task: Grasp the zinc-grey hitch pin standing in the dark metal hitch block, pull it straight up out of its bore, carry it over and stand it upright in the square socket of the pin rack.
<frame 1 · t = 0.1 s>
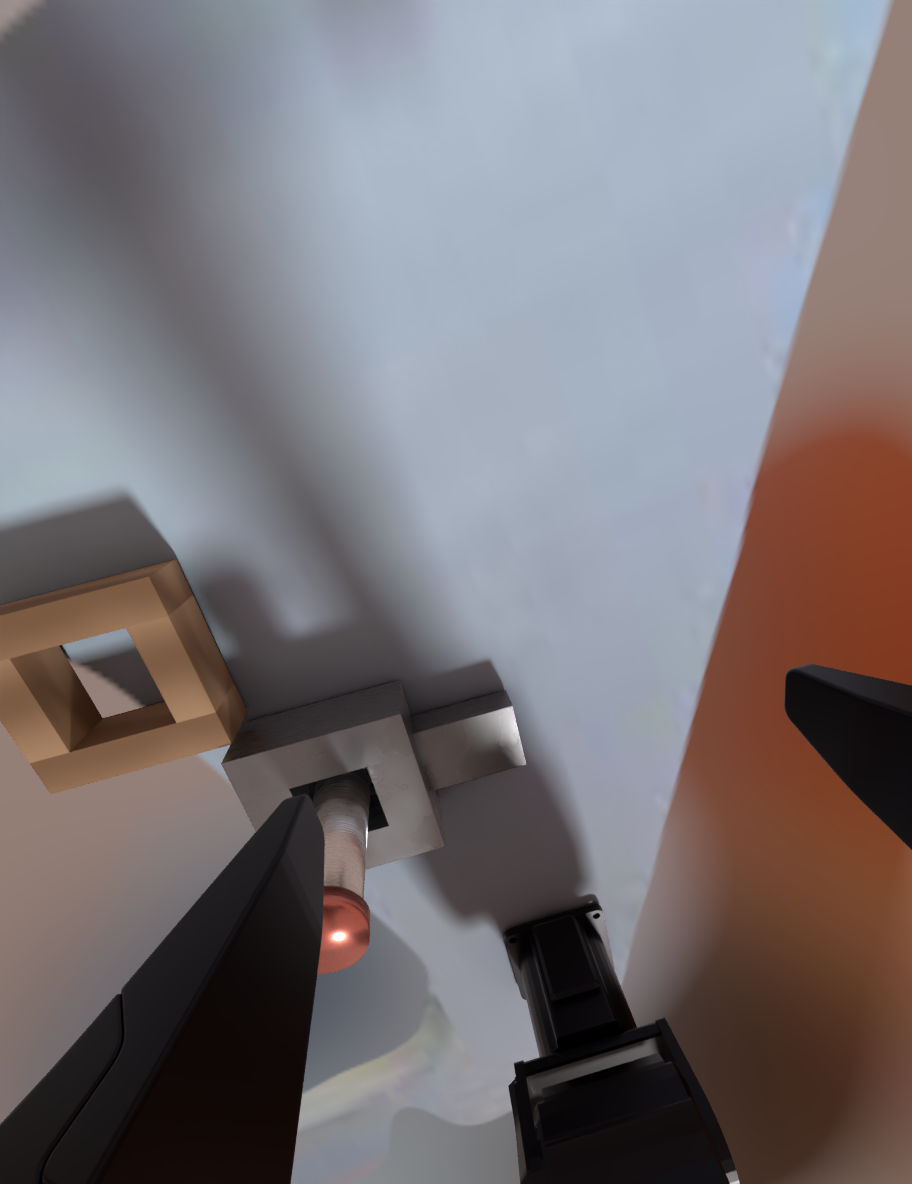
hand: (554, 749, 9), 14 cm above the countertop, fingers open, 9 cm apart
hitch pin: (336, 835, 21), in the hitch block
hitch block: (346, 765, 25), on the countertop
pin rack: (127, 663, 22), on the countertop
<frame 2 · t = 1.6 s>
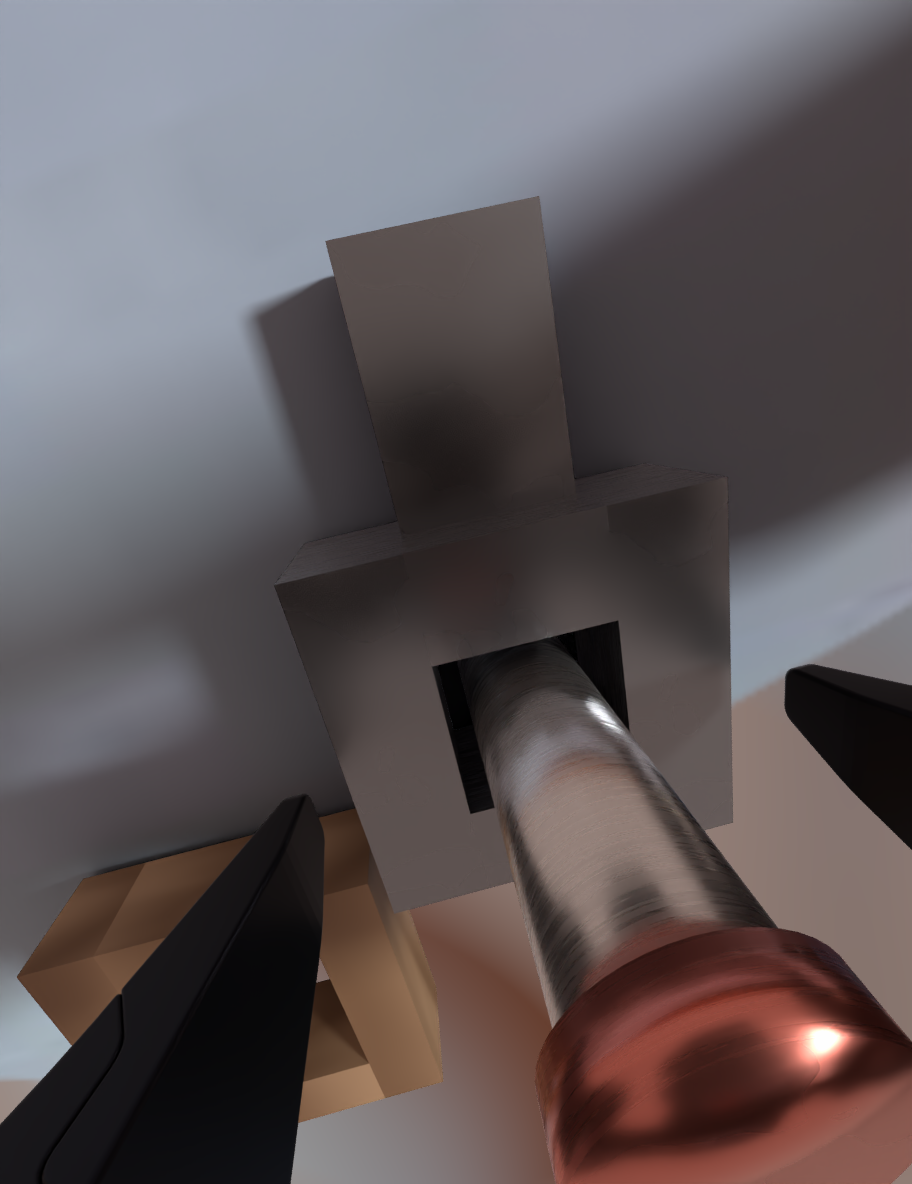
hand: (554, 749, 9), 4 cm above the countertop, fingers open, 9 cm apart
hitch pin: (566, 777, 8), in the hitch block
hitch block: (507, 655, 13), on the countertop
pin rack: (278, 938, 15), on the countertop
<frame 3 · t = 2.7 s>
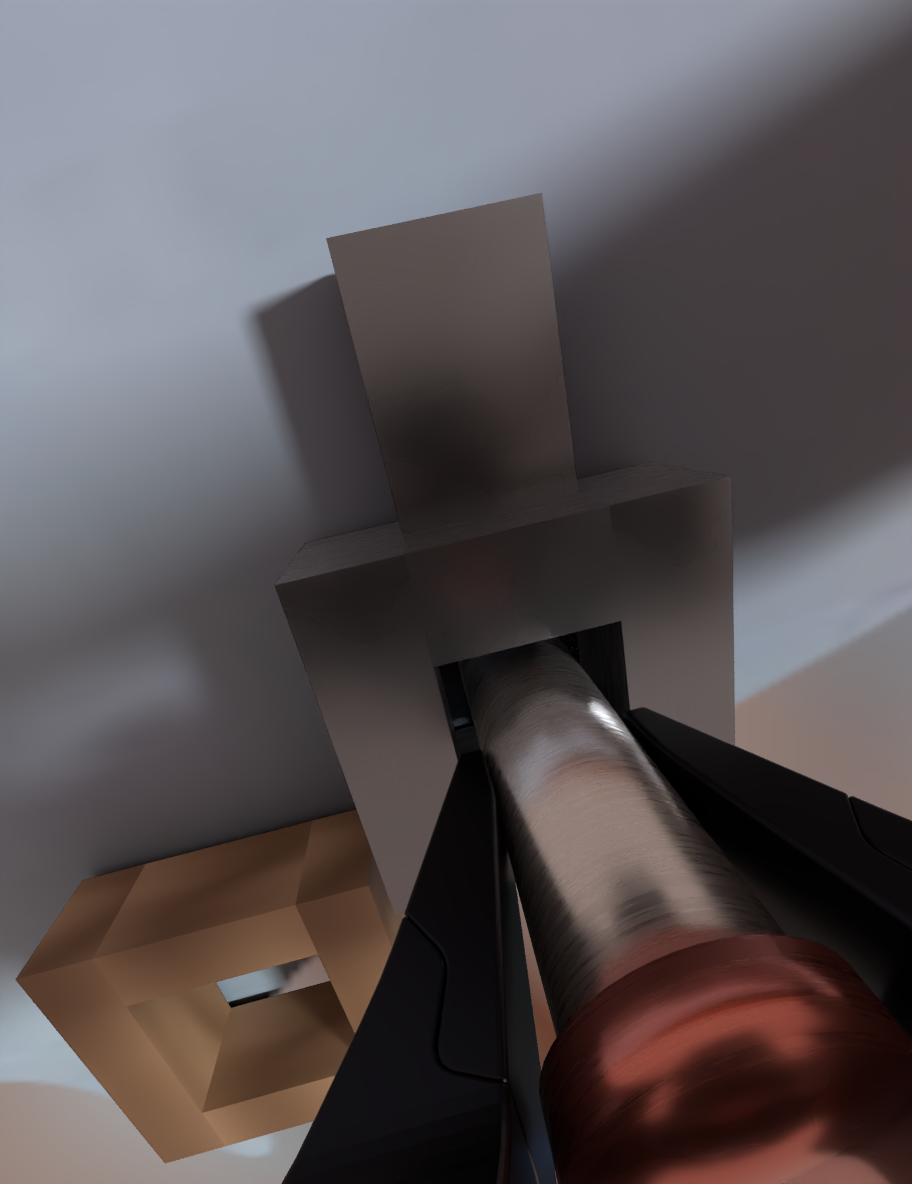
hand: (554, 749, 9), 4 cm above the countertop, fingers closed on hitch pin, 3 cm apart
hitch pin: (568, 779, 8), in the hitch block, touching gripper
hitch block: (508, 655, 12), on the countertop
pin rack: (278, 939, 15), on the countertop
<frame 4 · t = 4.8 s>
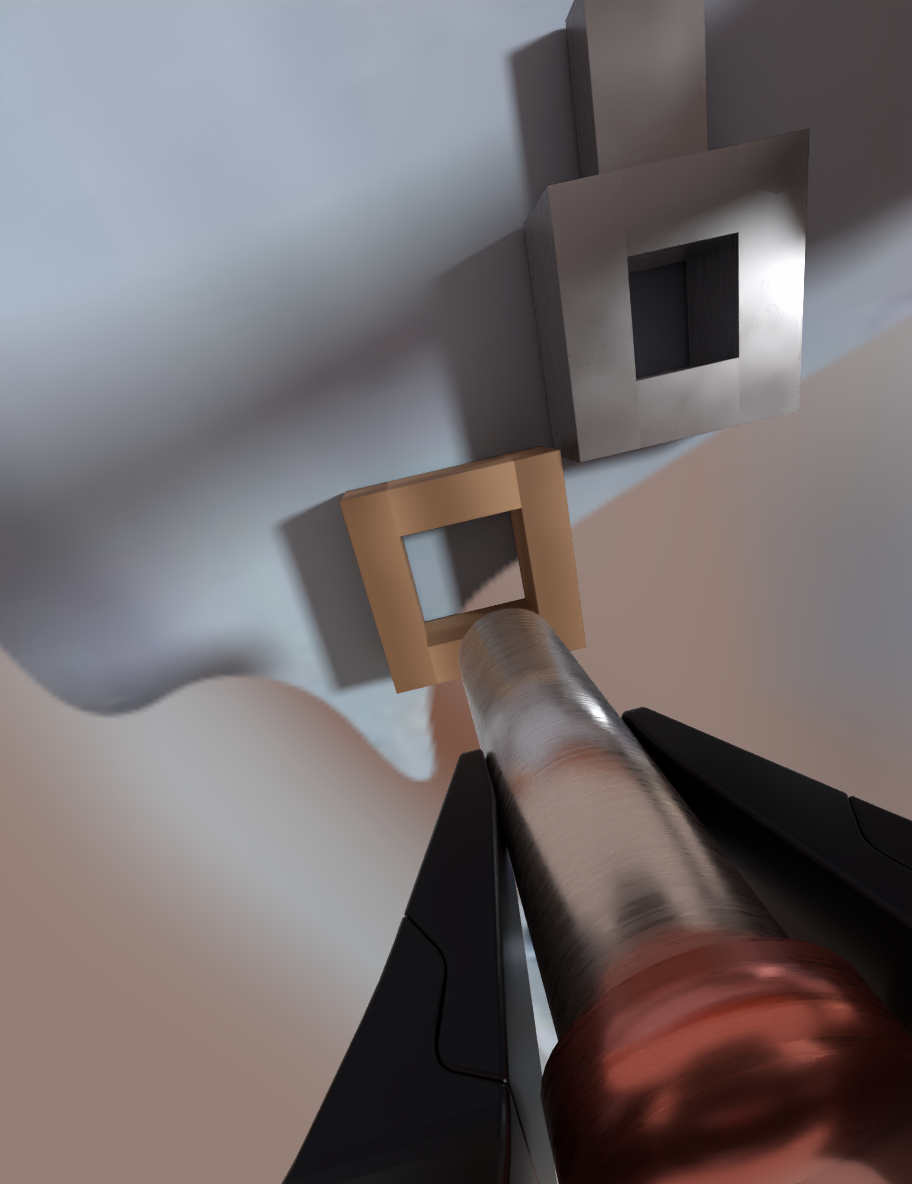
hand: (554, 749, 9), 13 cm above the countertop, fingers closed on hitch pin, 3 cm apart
hitch pin: (569, 780, 8), point 14 cm above the countertop, touching gripper
hitch block: (642, 325, 19), on the countertop
pin rack: (464, 562, 21), on the countertop
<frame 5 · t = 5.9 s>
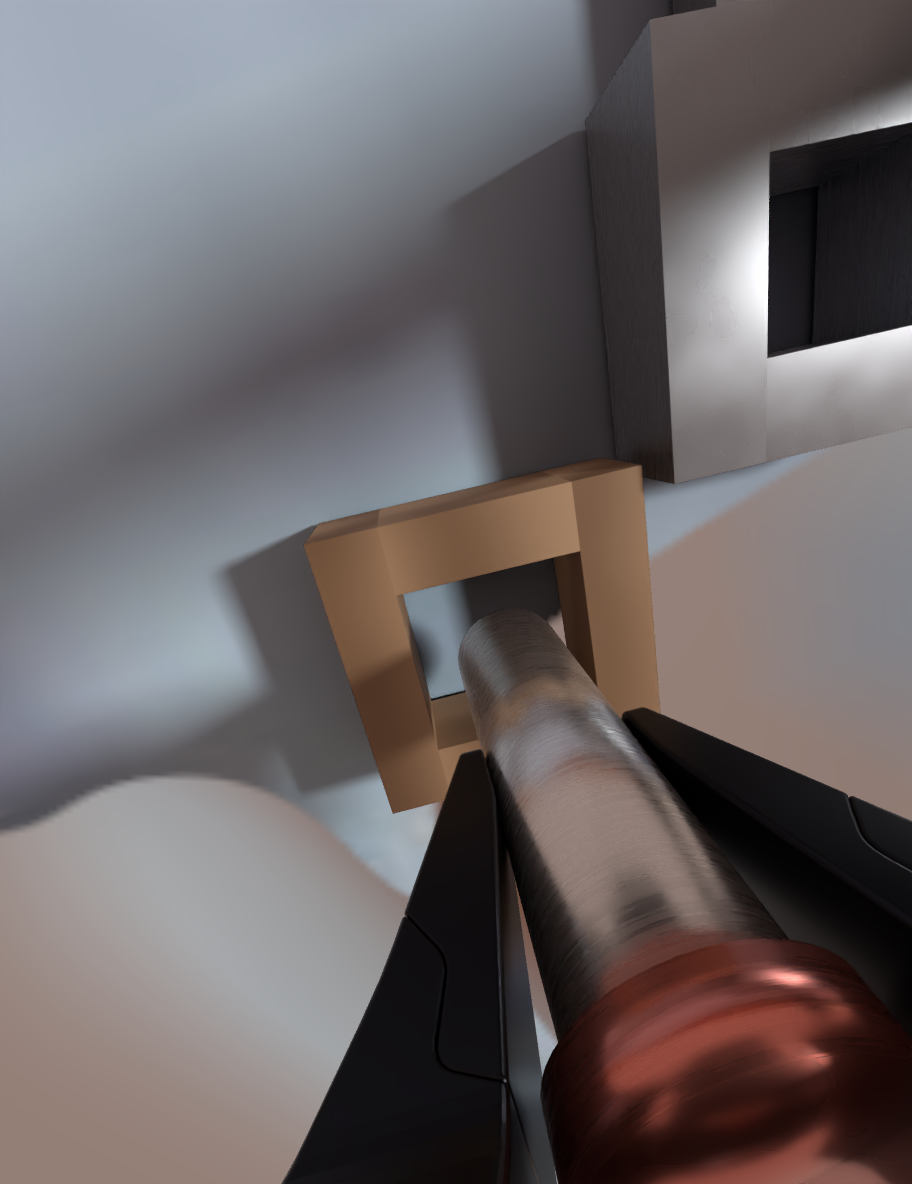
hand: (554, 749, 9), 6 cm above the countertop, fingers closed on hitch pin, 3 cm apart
hitch pin: (569, 780, 8), point 7 cm above the countertop, touching gripper
hitch block: (750, 282, 13), on the countertop
pin rack: (487, 619, 15), on the countertop
when the fingers open (5 cm above the countertop, at t = 6.7 s): hitch pin drops 1 cm, resting in pin rack.
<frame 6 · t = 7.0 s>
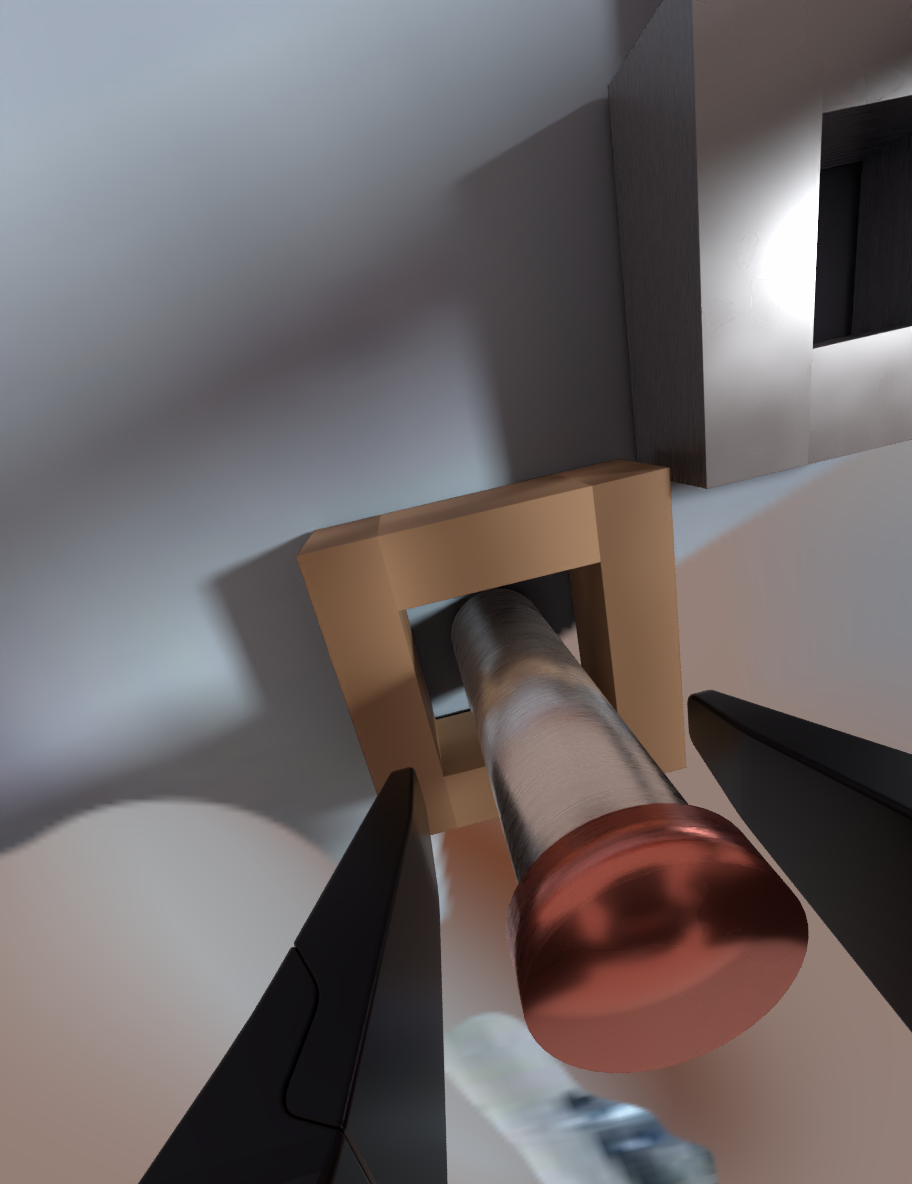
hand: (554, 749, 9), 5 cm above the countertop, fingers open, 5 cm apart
hitch pin: (543, 726, 10), in the pin rack
hitch block: (785, 268, 12), on the countertop
pin rack: (496, 633, 14), on the countertop
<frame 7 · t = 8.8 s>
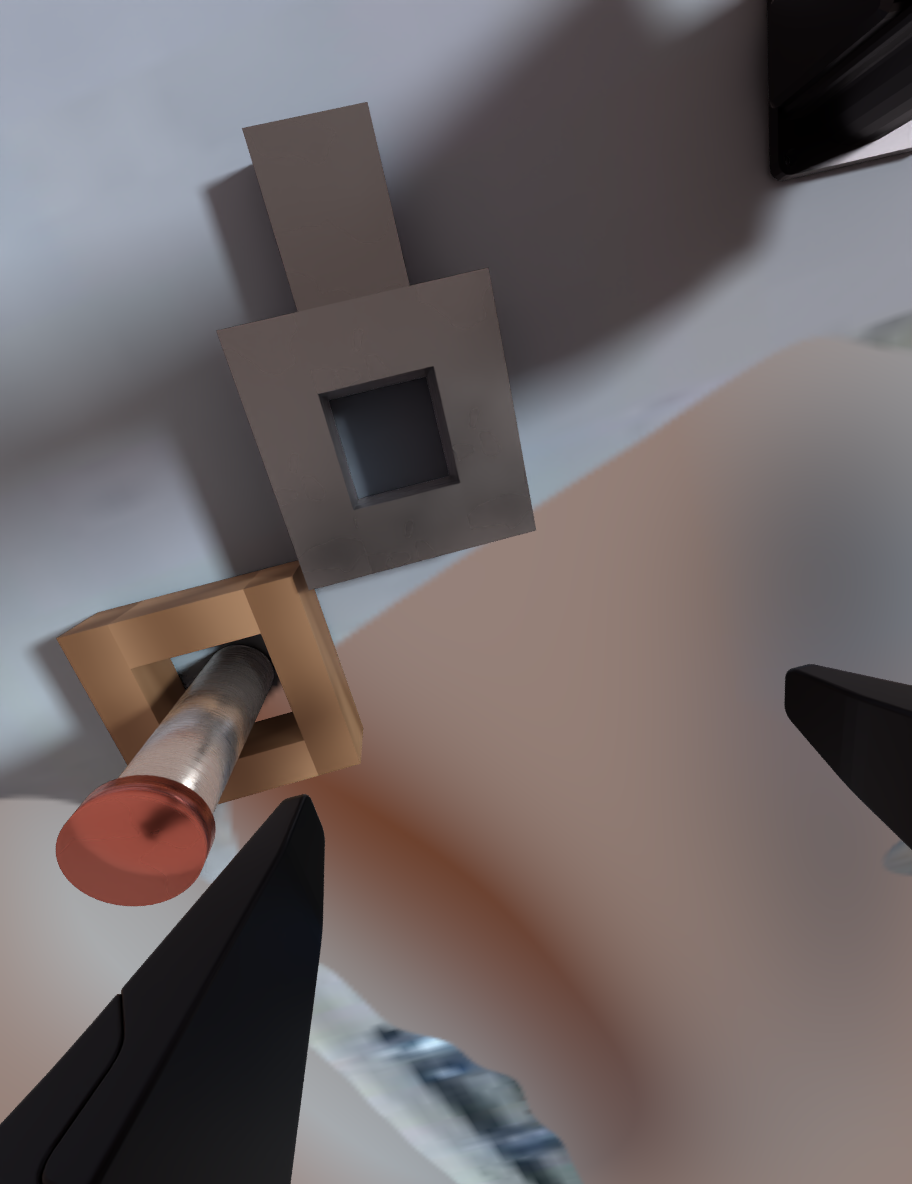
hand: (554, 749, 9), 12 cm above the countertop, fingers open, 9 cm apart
hitch pin: (201, 739, 16), in the pin rack
hitch block: (391, 439, 18), on the countertop
pin rack: (240, 674, 20), on the countertop
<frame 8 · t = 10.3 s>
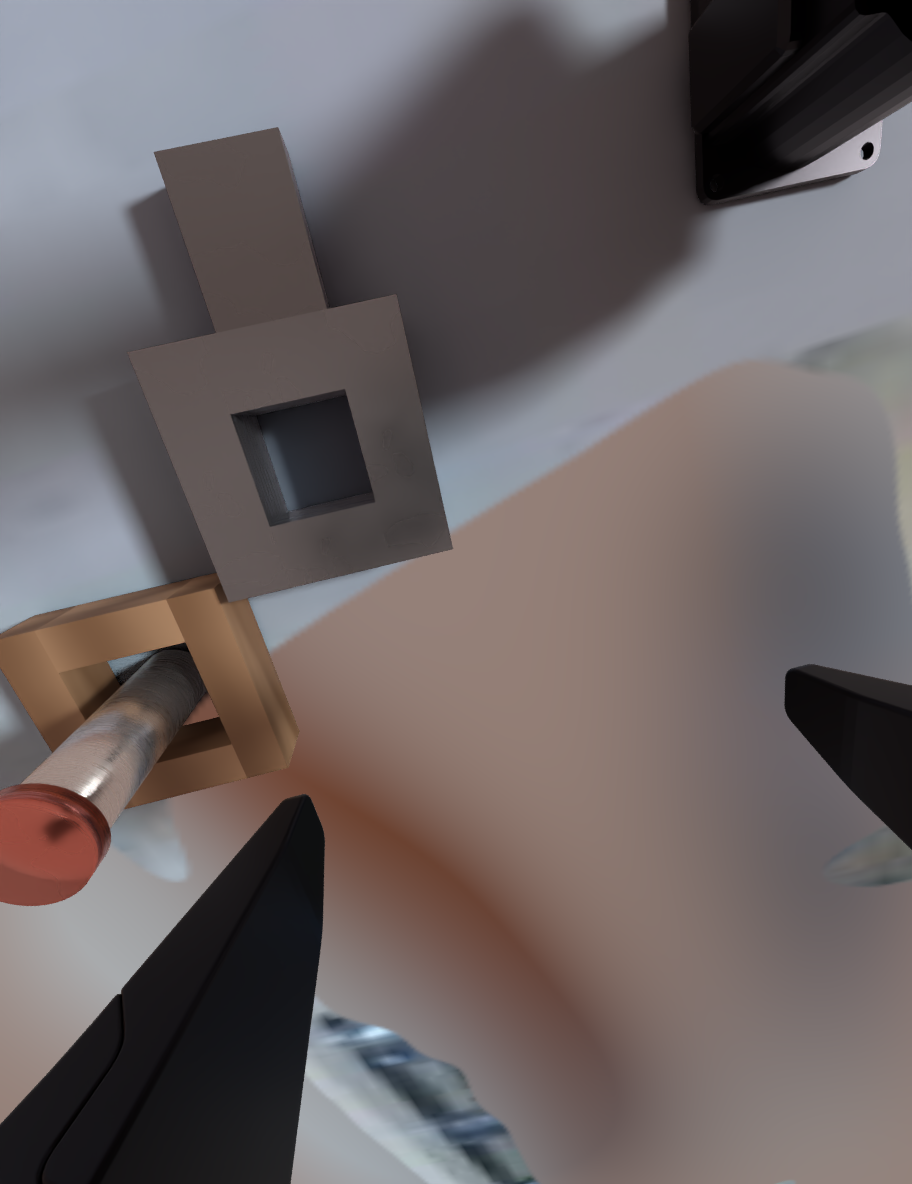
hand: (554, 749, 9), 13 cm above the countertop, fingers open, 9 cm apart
hitch pin: (120, 743, 16), in the pin rack
hitch block: (319, 454, 19), on the countertop
pin rack: (176, 677, 21), on the countertop
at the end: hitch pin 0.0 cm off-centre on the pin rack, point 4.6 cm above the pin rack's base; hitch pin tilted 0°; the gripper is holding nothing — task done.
